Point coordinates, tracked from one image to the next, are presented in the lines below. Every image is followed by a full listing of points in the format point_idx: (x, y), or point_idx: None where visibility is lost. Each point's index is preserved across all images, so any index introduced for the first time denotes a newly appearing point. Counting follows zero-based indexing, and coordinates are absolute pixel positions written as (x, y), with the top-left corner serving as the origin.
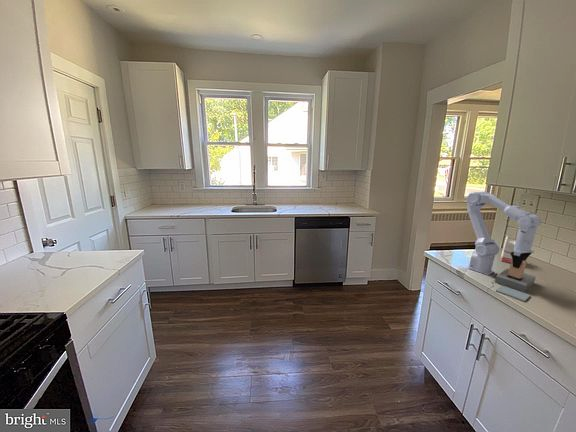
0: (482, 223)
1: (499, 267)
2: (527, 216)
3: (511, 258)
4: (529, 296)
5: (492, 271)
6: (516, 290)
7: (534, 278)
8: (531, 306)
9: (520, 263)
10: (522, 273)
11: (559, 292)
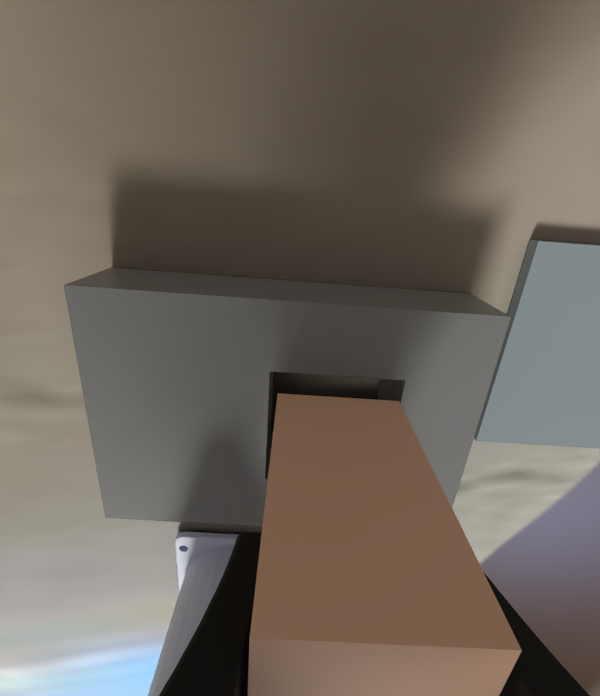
0: None
1: (17, 524)
2: None
3: None
4: (563, 242)
5: (205, 541)
6: (510, 347)
7: (129, 287)
8: None
9: (566, 673)
10: (339, 430)
11: (126, 11)
